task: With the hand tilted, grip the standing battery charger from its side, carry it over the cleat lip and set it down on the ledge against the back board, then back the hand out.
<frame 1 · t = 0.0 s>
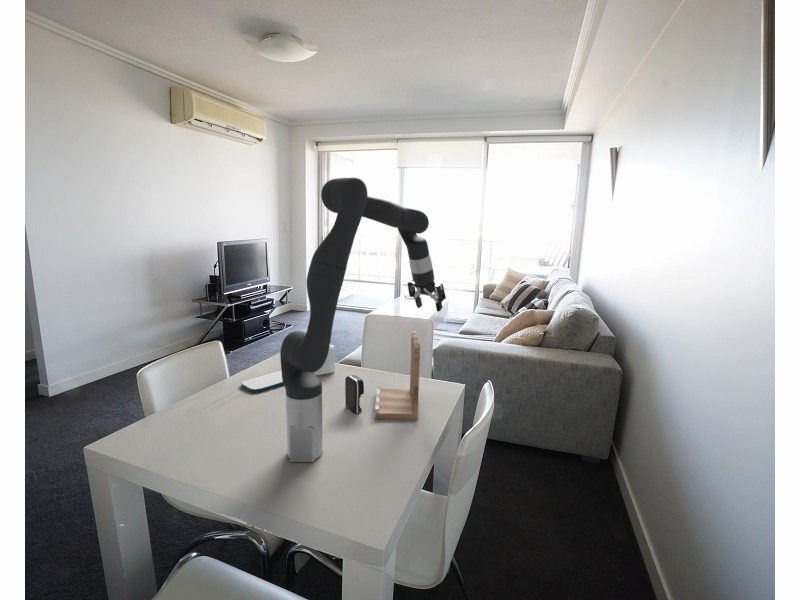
hand: (429, 308, 149), 31 cm above the table, tool tilted 20°, fingers open, 8 cm apart
external hard drive: (274, 383, 159), on the table
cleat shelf: (393, 405, 141), on the table
photo printer: (322, 373, 170), on the table
battery charger: (354, 409, 138), on the table
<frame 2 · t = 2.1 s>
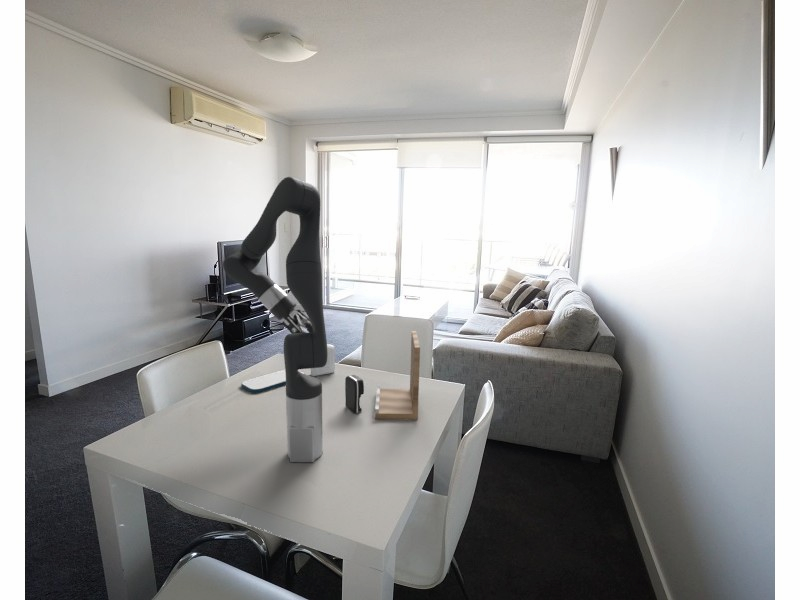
hand: (313, 338, 132), 24 cm above the table, tool tilted 45°, fingers open, 8 cm apart
nothing on the table moved.
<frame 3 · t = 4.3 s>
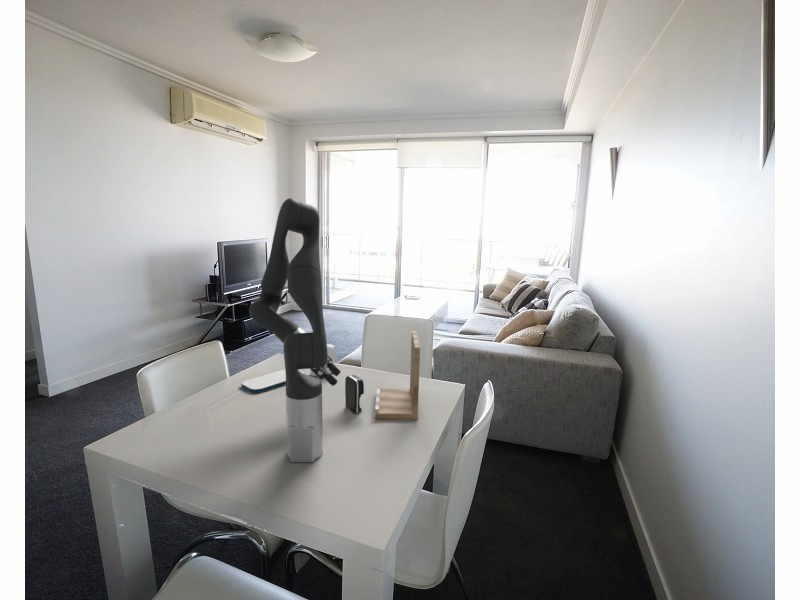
hand: (337, 378, 136), 11 cm above the table, tool tilted 45°, fingers open, 8 cm apart
nothing on the table moved.
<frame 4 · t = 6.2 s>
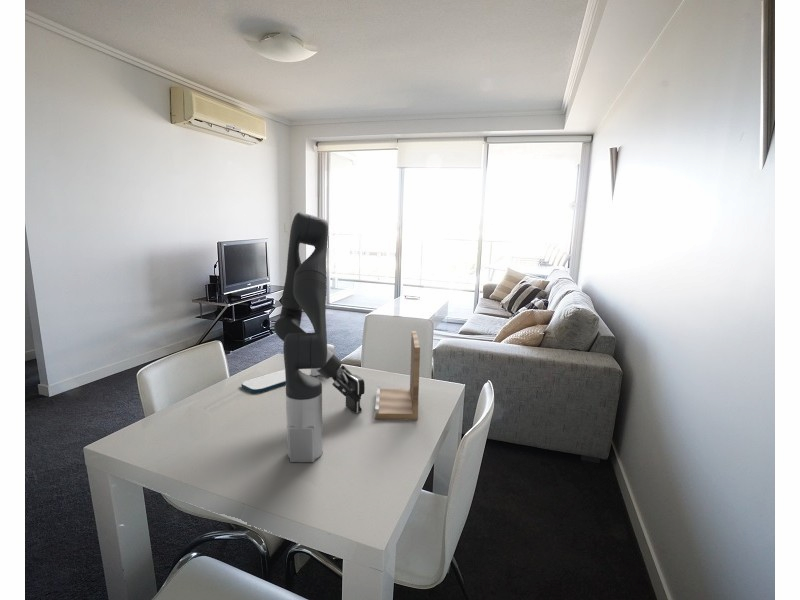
hand: (359, 395, 137), 5 cm above the table, tool tilted 45°, fingers closed on battery charger, 7 cm apart
battery charger: (354, 409, 138), on the table, touching gripper
everything else where it was.
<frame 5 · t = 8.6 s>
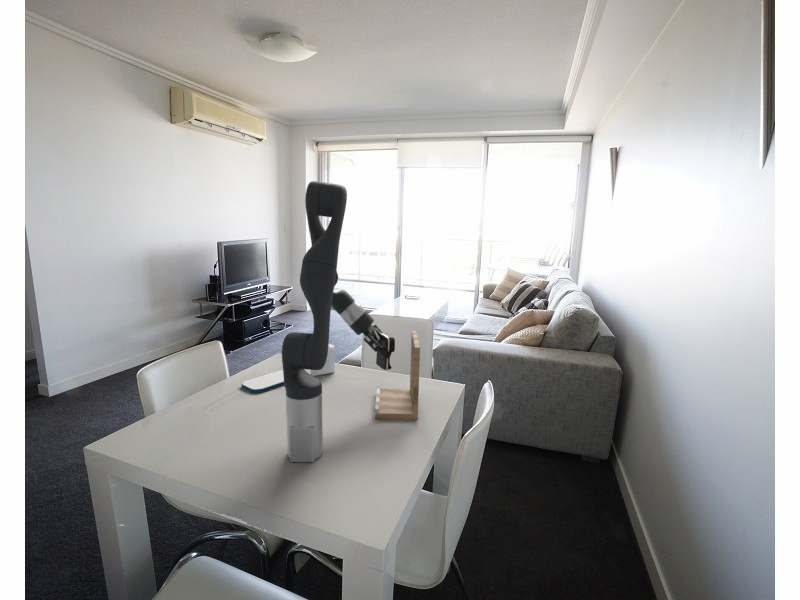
hand: (390, 353, 139), 18 cm above the table, tool tilted 45°, fingers closed on battery charger, 7 cm apart
battery charger: (384, 367, 140), point 13 cm above the table, touching gripper
everything else where it was.
when the fingers open (8 cm above the table, at t = 11.4 s): battery charger moves 2 cm, resting on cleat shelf.
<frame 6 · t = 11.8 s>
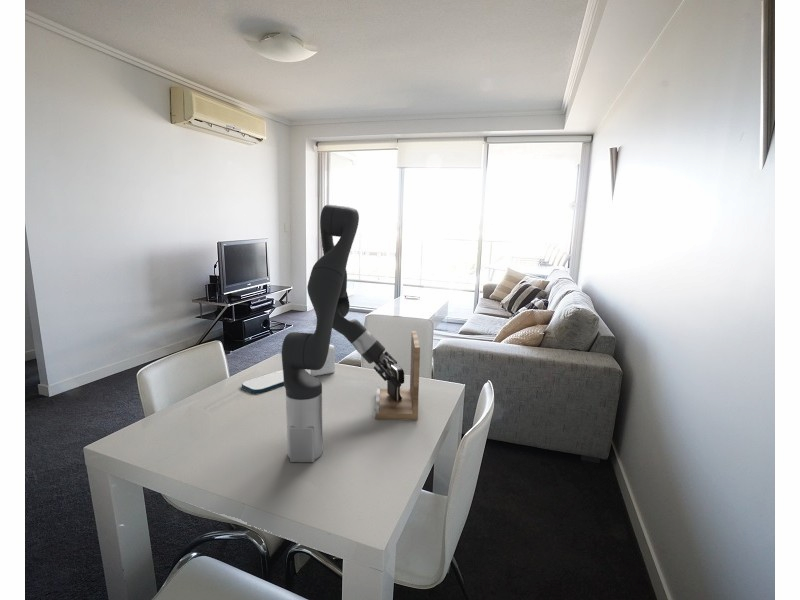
hand: (400, 381, 140), 9 cm above the table, tool tilted 45°, fingers open, 8 cm apart
battery charger: (395, 397, 143), point 2 cm above the table, touching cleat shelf, gripper
everything else where it was.
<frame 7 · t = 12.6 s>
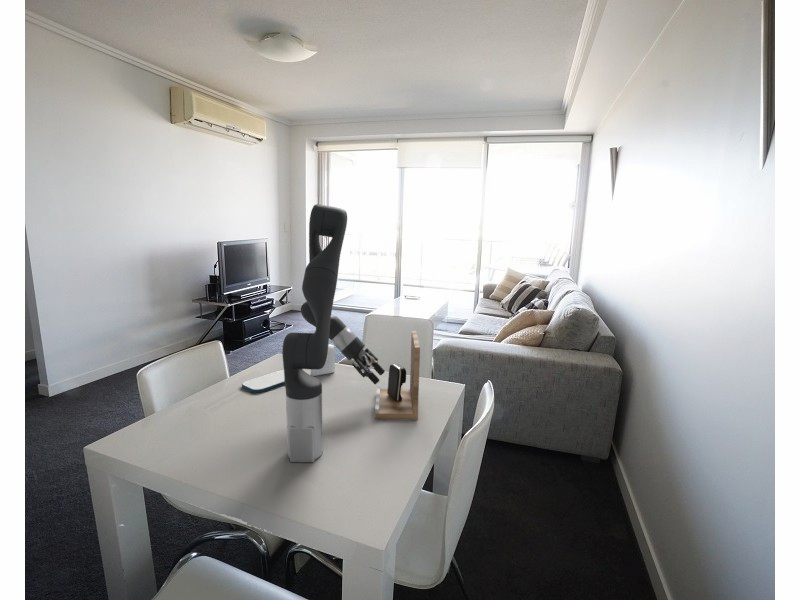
hand: (380, 377, 141), 9 cm above the table, tool tilted 45°, fingers open, 8 cm apart
battery charger: (395, 397, 143), point 2 cm above the table, touching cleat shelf
everything else where it was.
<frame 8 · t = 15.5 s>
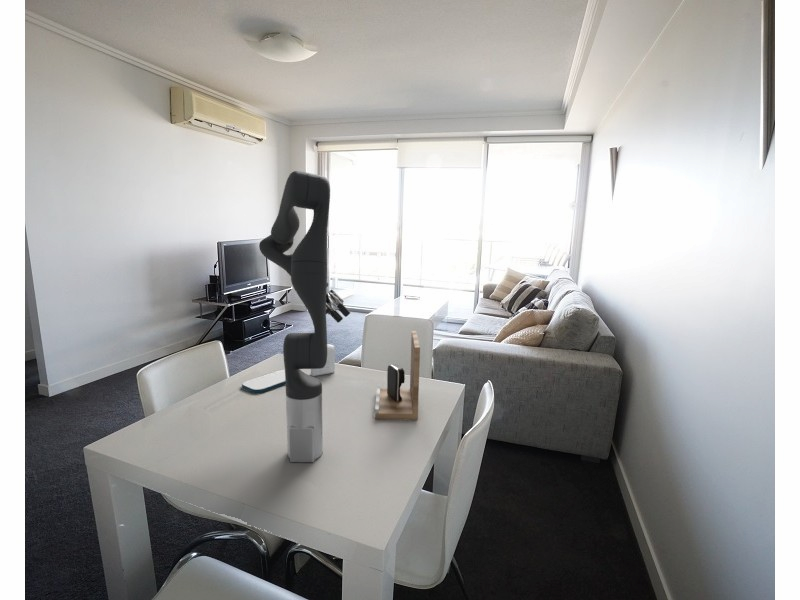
hand: (344, 317, 135), 31 cm above the table, tool tilted 45°, fingers open, 8 cm apart
nothing on the table moved.
at the end: battery charger inside the target area on the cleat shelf (2.4 cm from its centre), point 1.8 cm above the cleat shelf's base; battery charger tilted 0°; the gripper is holding nothing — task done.
